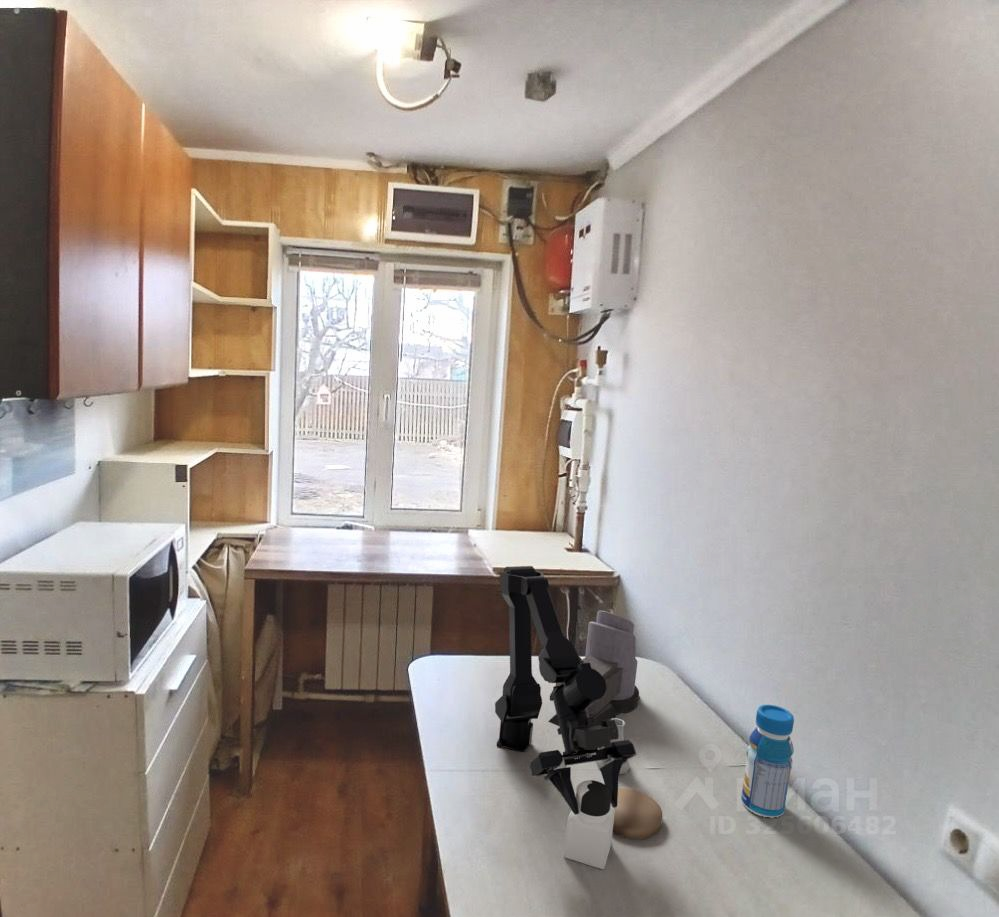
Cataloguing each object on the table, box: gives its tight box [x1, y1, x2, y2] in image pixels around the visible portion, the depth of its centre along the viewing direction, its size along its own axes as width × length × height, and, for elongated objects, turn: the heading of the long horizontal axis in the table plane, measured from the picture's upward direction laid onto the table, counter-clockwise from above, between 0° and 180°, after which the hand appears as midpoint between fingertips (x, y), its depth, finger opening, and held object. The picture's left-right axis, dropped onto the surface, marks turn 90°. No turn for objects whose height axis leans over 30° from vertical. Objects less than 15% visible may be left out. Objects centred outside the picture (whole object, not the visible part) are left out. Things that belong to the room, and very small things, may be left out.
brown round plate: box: [610, 787, 663, 840], centre depth 128 cm, size 12×12×2 cm
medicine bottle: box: [563, 779, 615, 870], centre depth 118 cm, size 7×7×12 cm
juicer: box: [547, 610, 642, 727], centre depth 169 cm, size 30×16×24 cm, turn 147°
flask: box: [595, 717, 631, 775], centre depth 144 cm, size 7×7×10 cm
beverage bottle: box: [740, 704, 795, 819], centre depth 134 cm, size 8×8×20 cm
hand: (596, 810), depth 116 cm, fingers open, 7 cm apart
